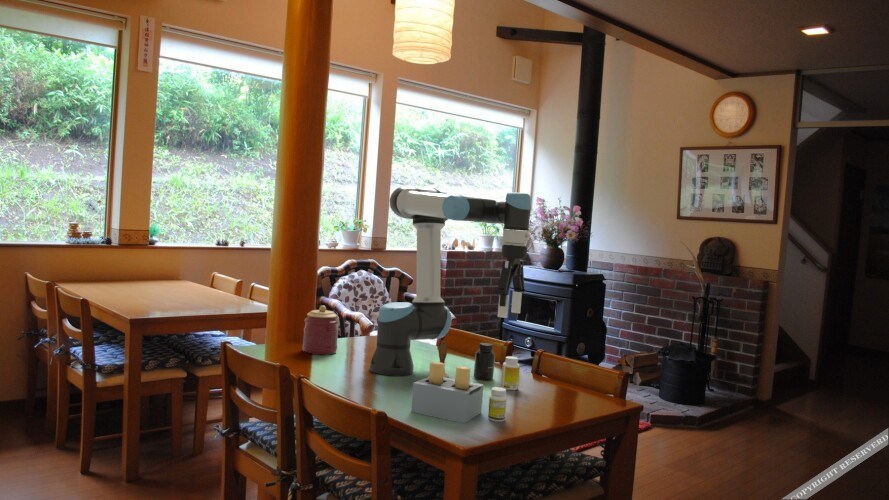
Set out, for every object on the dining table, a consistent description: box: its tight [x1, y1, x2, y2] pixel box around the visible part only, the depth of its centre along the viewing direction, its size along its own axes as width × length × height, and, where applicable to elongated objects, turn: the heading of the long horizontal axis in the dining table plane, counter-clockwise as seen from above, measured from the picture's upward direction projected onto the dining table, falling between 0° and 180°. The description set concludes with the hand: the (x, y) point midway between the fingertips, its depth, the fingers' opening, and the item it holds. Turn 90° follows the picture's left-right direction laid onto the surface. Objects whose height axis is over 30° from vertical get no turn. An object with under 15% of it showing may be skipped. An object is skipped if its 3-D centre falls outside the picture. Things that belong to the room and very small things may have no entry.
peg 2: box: [454, 366, 472, 390], centre depth 180 cm, size 4×4×8 cm
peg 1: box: [428, 361, 445, 384], centre depth 183 cm, size 4×4×8 cm
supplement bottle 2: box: [487, 386, 508, 423], centre depth 178 cm, size 5×5×8 cm
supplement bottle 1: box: [473, 342, 496, 381], centre depth 225 cm, size 7×7×12 cm
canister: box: [302, 305, 340, 356], centre depth 248 cm, size 13×13×18 cm
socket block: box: [410, 376, 484, 424], centre depth 181 cm, size 16×12×8 cm
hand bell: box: [438, 339, 450, 378], centre depth 203 cm, size 8×8×16 cm
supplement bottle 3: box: [500, 355, 521, 391], centre depth 214 cm, size 6×6×10 cm
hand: (509, 315), depth 196 cm, fingers open, 13 cm apart
